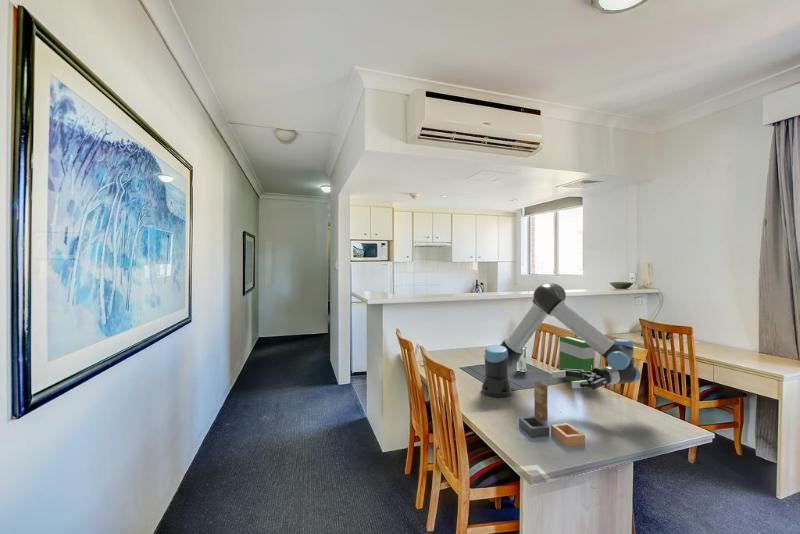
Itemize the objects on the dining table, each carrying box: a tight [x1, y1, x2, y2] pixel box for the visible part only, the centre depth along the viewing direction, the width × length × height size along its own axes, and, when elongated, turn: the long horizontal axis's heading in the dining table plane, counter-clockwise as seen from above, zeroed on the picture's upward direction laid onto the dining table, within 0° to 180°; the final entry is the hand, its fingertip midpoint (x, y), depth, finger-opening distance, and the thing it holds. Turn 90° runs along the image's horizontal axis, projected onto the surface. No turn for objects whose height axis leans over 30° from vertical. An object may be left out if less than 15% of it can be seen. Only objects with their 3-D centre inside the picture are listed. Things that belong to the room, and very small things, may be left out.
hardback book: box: [559, 334, 595, 382], centre depth 192 cm, size 18×7×24 cm, turn 15°
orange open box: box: [550, 422, 586, 446], centre depth 127 cm, size 7×9×4 cm
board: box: [515, 423, 588, 452], centre depth 130 cm, size 24×14×1 cm, turn 66°
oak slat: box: [533, 381, 549, 422], centre depth 144 cm, size 3×5×16 cm, turn 9°
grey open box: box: [518, 415, 550, 438], centre depth 133 cm, size 7×9×4 cm
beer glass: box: [516, 346, 528, 372], centre depth 209 cm, size 7×7×15 cm
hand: (561, 379), depth 146 cm, fingers open, 13 cm apart
